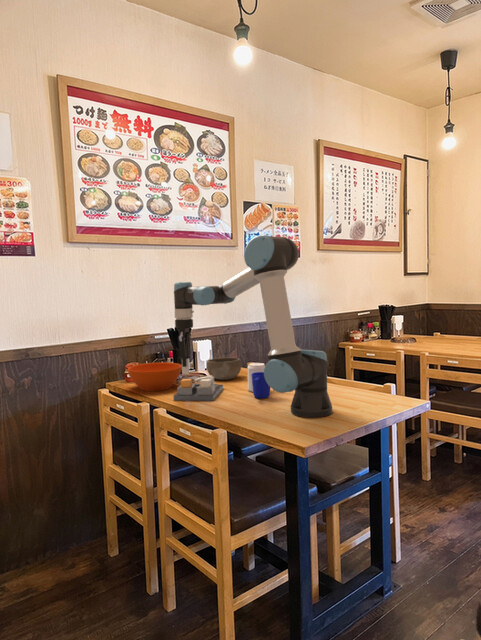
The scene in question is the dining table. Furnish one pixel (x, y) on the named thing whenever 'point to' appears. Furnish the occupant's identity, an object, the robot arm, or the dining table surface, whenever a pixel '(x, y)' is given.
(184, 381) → the button orange
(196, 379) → the rocker
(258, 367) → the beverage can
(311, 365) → the robot arm
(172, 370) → the bowl
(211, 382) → the slider knob
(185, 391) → the panel
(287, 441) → the dining table surface
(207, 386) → the button ivory
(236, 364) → the bowl
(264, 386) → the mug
